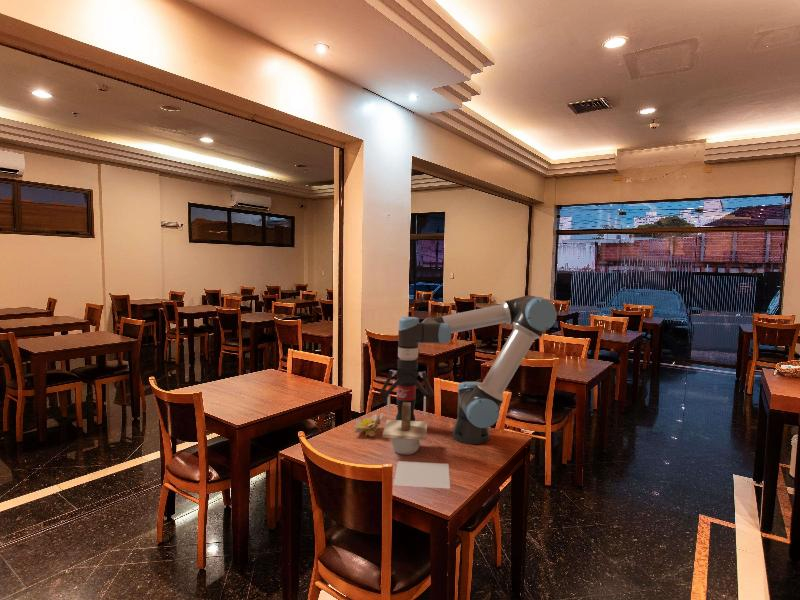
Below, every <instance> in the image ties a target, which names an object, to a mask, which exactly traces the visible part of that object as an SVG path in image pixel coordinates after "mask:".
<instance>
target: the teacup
mask: <svg viewBox="0 0 800 600" xmlns="http://www.w3.org/2000/svg"><path fill="white" fill-rule="evenodd" d="M391 447H392V450H393V451H394V452H395V453H397V454H399V455H404V456H408V455H413V454H415V453H416V452H417V451H418V450H419V448H420V439H405V438H391Z"/></svg>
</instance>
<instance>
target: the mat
mask: <svg viewBox="0 0 800 600" xmlns="http://www.w3.org/2000/svg"><path fill="white" fill-rule="evenodd" d="M449 465H450V463H441V462H440V463H439V462H438V463H437V462H436V463H435V462H419V461H402V460H398V461H397V464H396V470H395V474H394V475H395V476H394V480H393V486H394V487H395V486H399V487H413V488H414V487H416V488H427V489H428V488H430V489H431V488H432V489H447V490H448V489H449V490H450V489H451V483H450V482H451V481H450V480H451V479H450V467H449Z"/></svg>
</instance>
